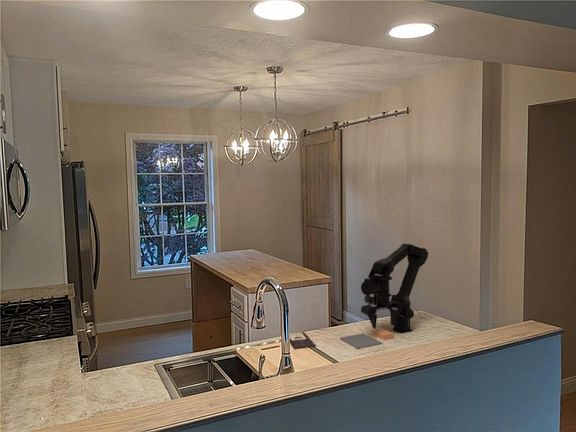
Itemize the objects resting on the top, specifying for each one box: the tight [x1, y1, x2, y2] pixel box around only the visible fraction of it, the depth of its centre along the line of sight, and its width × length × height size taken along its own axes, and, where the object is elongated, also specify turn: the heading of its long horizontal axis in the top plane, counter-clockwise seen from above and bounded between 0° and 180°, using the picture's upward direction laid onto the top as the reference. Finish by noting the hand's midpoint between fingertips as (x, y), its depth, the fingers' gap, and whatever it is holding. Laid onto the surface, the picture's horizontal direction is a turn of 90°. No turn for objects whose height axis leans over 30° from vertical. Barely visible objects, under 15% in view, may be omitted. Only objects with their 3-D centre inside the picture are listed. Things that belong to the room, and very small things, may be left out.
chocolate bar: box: [289, 331, 317, 350], centre depth 190 cm, size 9×1×18 cm
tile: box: [372, 328, 395, 341], centre depth 192 cm, size 5×8×2 cm, turn 26°
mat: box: [338, 332, 383, 350], centre depth 187 cm, size 12×14×1 cm
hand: (383, 327), depth 192 cm, fingers open, 9 cm apart
